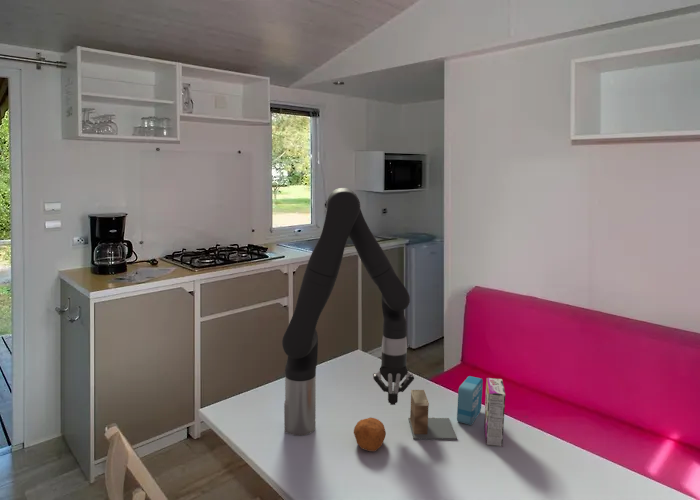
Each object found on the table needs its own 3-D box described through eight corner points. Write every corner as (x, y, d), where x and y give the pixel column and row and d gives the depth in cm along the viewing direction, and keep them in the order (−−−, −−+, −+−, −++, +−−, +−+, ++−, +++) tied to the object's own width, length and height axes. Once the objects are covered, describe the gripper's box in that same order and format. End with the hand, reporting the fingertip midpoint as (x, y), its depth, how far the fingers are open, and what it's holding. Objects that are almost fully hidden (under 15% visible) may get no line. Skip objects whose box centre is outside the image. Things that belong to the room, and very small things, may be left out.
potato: (347, 450, 144) (348, 426, 143) (361, 431, 155) (361, 408, 153) (378, 457, 141) (379, 432, 140) (390, 438, 151) (391, 414, 150)
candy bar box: (482, 426, 159) (486, 377, 156) (499, 428, 158) (502, 378, 155) (485, 445, 148) (488, 392, 145) (502, 447, 147) (506, 394, 144)
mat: (413, 439, 151) (413, 437, 151) (408, 419, 162) (408, 417, 162) (457, 439, 151) (457, 437, 151) (448, 419, 163) (448, 418, 163)
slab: (413, 434, 152) (415, 403, 151) (410, 419, 161) (411, 389, 160) (427, 434, 152) (428, 403, 151) (422, 419, 161) (424, 389, 160)
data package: (470, 427, 159) (472, 390, 157) (456, 423, 161) (458, 387, 159) (481, 411, 169) (483, 377, 167) (467, 407, 171) (469, 374, 169)
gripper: (372, 354, 149) (371, 409, 152) (417, 354, 149) (415, 409, 152) (371, 345, 156) (370, 398, 159) (414, 345, 157) (412, 398, 159)
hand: (392, 403), depth 156 cm, fingers closed
